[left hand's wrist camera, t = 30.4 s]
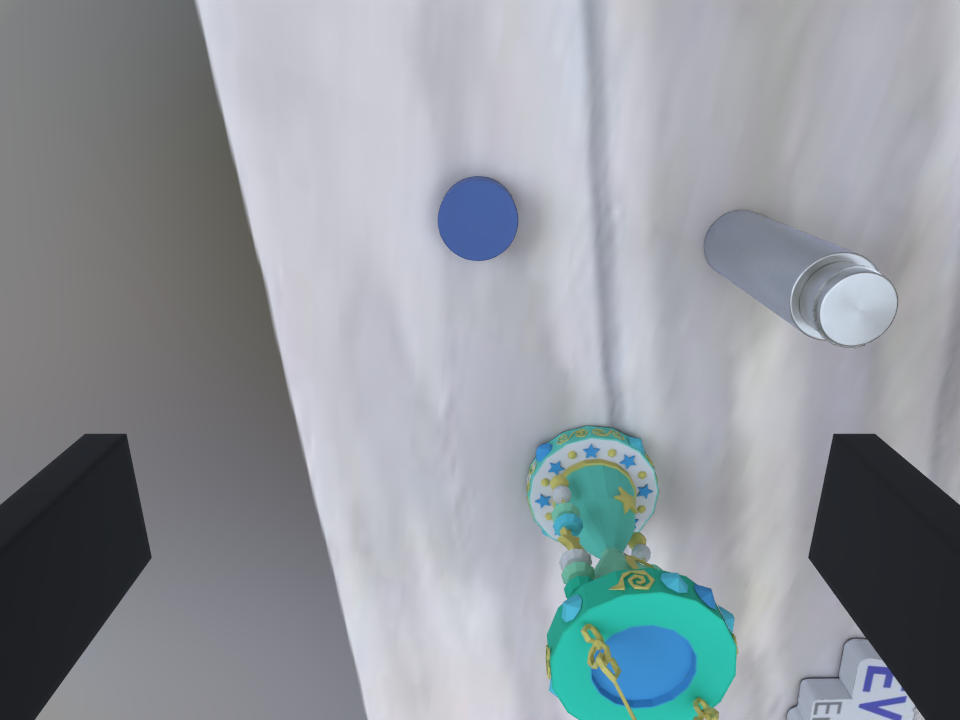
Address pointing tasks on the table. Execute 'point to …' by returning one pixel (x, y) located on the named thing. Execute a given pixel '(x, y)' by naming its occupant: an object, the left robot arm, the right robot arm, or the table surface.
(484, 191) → the lid
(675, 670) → the decorative hourglass
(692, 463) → the table surface
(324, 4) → the table surface
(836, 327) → the grey metal cylinder
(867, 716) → the decorative sign
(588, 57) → the table surface
